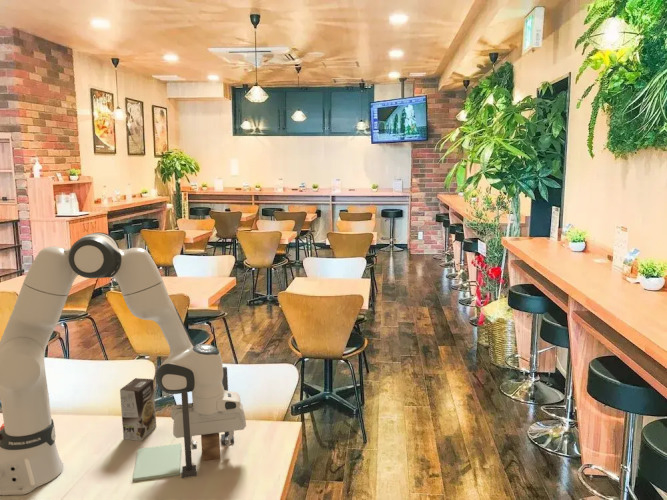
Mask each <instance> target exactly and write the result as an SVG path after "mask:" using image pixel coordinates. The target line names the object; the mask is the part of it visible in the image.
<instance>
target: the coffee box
mask: <svg viewBox="0 0 667 500" xmlns="http://www.w3.org/2000/svg"><path fill="white" fill-rule="evenodd" d="M119 389H120V390H119V394H120V396H119V397H120V407H121V421H122V434H123V436H122V437H123V439H125V440H131V441H140V442H141V441H143V440H144V439H146V437H147V436H149V434H150V433H151V432H152V431H154V430H155V428H157V418H156V417H157V416H156V415H157V414H156V401H155V388H154V379H153V378H140V377H139V378H138V377H136V378H134V379H132V380H131V381H130V382H128V383H127V384H125V385H124V386H122V387H121V388H119Z"/></svg>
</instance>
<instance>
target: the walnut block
mask: <svg viewBox="0 0 667 500" xmlns="http://www.w3.org/2000/svg"><path fill="white" fill-rule="evenodd" d="M200 439H201V440H200V441H201V443H200V444H201V462H202V463H205V462H211V461H217V460H221V443H220V442H221V441H220V433H213V434H205V435H200Z"/></svg>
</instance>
